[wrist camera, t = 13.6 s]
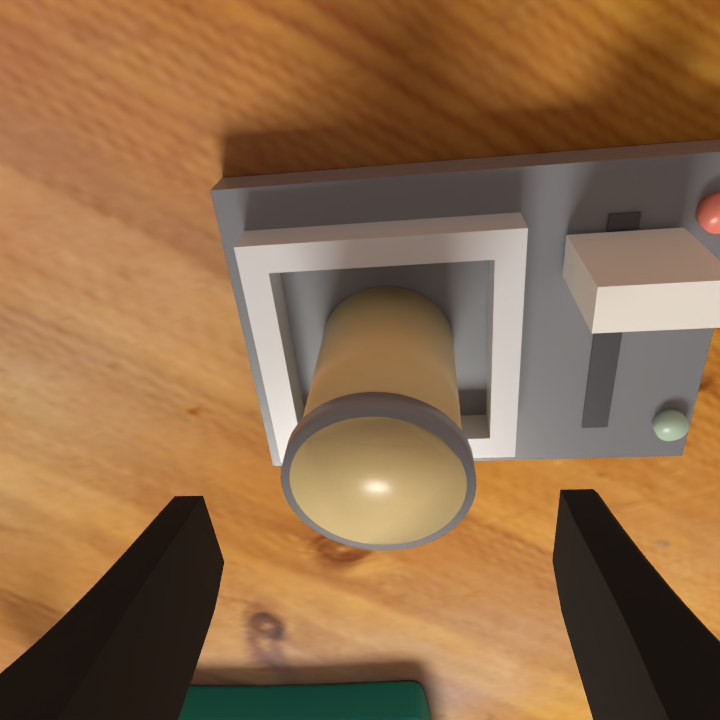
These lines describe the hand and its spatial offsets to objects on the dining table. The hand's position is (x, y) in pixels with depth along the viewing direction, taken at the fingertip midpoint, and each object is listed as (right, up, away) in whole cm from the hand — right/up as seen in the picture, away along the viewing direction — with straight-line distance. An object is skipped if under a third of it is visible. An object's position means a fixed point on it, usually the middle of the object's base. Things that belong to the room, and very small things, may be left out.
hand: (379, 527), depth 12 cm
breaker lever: (+7, +6, +4) cm, 10 cm away
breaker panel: (+3, +5, +7) cm, 9 cm away
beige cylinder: (0, +4, +6) cm, 7 cm away
